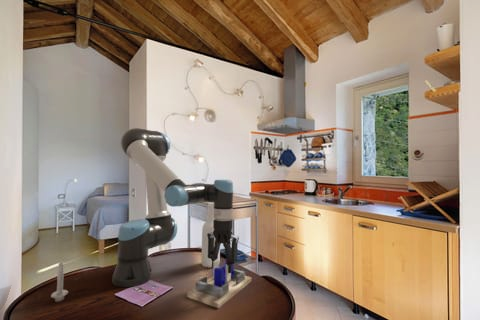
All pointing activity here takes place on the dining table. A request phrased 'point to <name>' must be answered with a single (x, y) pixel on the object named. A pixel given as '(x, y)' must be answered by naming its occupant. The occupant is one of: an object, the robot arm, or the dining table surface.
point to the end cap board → (218, 289)
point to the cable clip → (221, 275)
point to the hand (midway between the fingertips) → (221, 278)
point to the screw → (60, 285)
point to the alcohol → (205, 230)
